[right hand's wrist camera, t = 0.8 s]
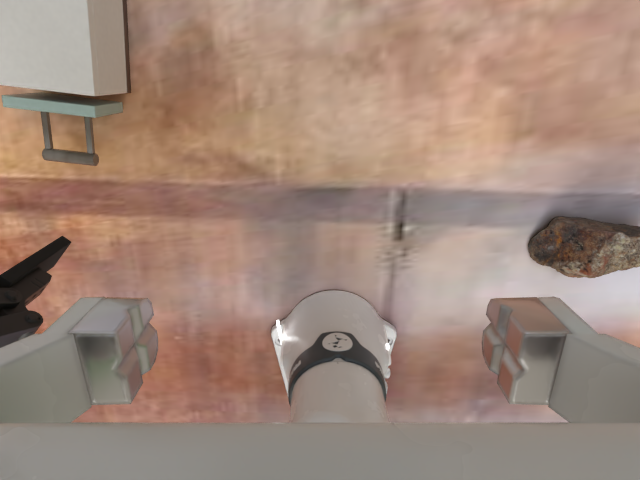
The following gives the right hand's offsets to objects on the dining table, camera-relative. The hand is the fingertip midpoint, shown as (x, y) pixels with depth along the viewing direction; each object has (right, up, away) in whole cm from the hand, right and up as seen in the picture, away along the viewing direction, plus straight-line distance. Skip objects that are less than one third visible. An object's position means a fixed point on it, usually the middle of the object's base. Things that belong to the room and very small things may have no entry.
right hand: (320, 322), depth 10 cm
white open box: (-27, +29, +37) cm, 54 cm away
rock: (+36, +2, +48) cm, 60 cm away
